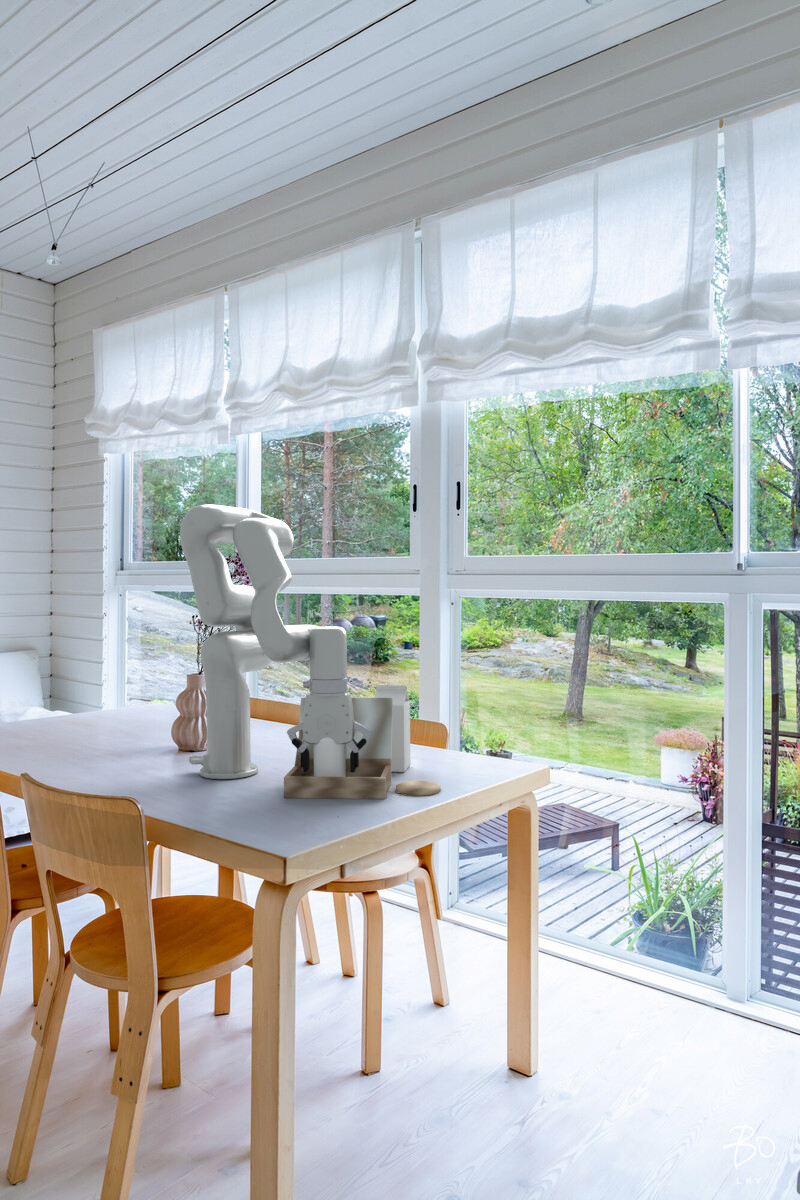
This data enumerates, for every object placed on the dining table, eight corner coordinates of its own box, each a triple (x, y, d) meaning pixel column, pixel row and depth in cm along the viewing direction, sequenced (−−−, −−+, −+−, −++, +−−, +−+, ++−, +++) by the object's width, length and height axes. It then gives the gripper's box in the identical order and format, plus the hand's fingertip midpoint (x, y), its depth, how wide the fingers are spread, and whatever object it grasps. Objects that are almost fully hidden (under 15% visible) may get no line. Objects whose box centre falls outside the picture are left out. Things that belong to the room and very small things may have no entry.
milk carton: (404, 772, 177) (403, 687, 177) (373, 771, 178) (372, 686, 178) (410, 765, 184) (409, 683, 184) (380, 764, 185) (379, 683, 185)
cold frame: (284, 797, 157) (282, 709, 156) (302, 776, 174) (301, 697, 174) (385, 798, 155) (384, 709, 155) (393, 777, 173) (392, 697, 172)
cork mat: (394, 795, 157) (394, 791, 157) (397, 784, 166) (397, 780, 166) (439, 796, 157) (439, 792, 157) (441, 784, 166) (441, 781, 166)
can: (344, 793, 159) (343, 733, 159) (312, 794, 159) (311, 734, 159) (347, 785, 166) (346, 728, 166) (315, 786, 166) (315, 728, 166)
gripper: (282, 689, 159) (283, 774, 159) (368, 689, 158) (369, 775, 158) (290, 684, 167) (291, 766, 167) (373, 684, 165) (374, 767, 165)
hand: (329, 770), depth 162 cm, fingers open, 9 cm apart
